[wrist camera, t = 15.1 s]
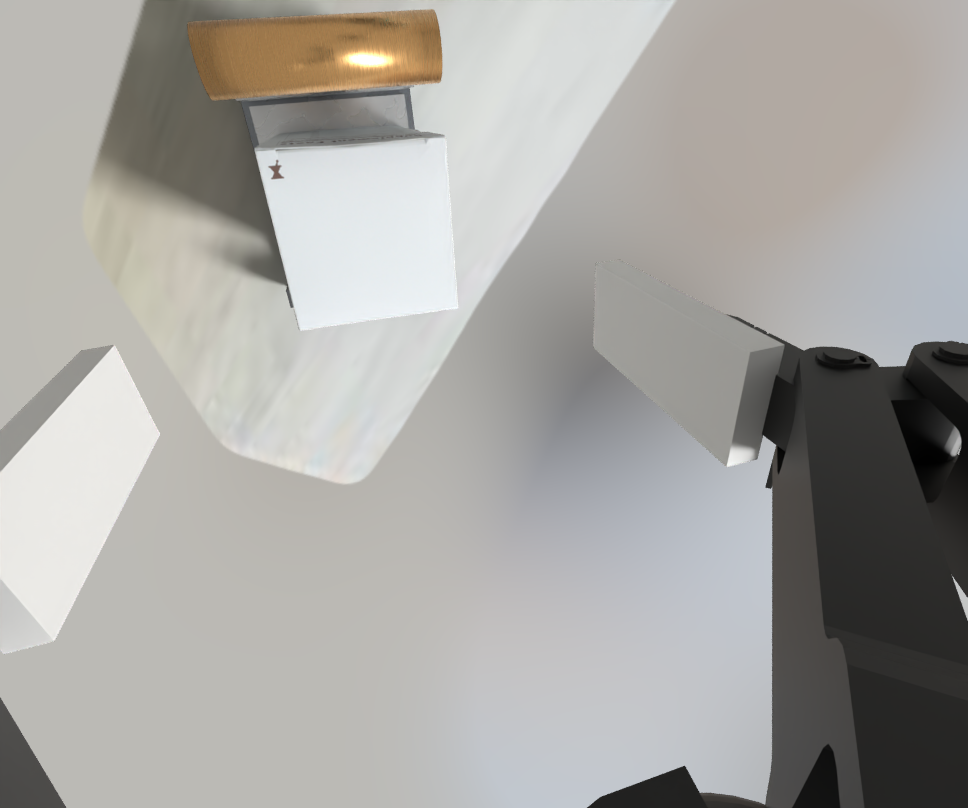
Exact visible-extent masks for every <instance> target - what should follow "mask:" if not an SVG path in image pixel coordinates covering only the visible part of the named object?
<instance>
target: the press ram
mask: <svg viewBox="0 0 968 808" xmlns="http://www.w3.org/2000/svg"><path fill="white" fill-rule="evenodd" d="M187 28H188V36H189V41H190V45H191V49H192V53H193V56H194V60H195V63H196V66H197V69H198V72H199V75H200V77H201V80H202V83H203V85H204V87H205V90H206V92H207V94H208V95H209V97H210V98H211V100H213V101H214V100H227V99H236V101H246V102H248V101H261V100H274V99H286V98H299V97H312V96H324V95H337V94H349V93H362V92H375V91H387V90H400V89H407V88H411V87H414V85H420V84H433V83H440V81H441V77H442V47H441V37H440V30H439V25H438V20H437V16H436V13H435V11H434V10H433V9H429V10H410V11H390V12H370V13H350V14H330V15H311V16H291V17H271V18H251V19H231V20H212V21H192V22H188V24H187Z"/></svg>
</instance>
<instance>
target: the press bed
mask: <svg viewBox="0 0 968 808" xmlns="http://www.w3.org/2000/svg"><path fill="white" fill-rule="evenodd" d="M241 104H242V108H243V112H244V115H245V119H246V123H247V126H248V130H249V134H250V137H251V141H252V145H253V148H255V147H257V146H258V145H260V144H262V143H264V142H266V141H268V140H270V139H271V138H273V137H275V136H276V135H278V134H281V133H290V132H301V131H314V130H327V129H343V128H359V127H376V126H401V127H404V128H409V129H414V130H415V128H414V120H413V112H412V104H411V96H410V89H409V88H407V89H400V90H387V91H375V92H362V93H349V94H337V95H324V96H312V97H299V98H286V99H274V100H261V101H248V102H246V101H241ZM254 152H255V150H254ZM255 155H256V154H255ZM256 159H257V158H256ZM286 292H287V296H288V299H289V303H290V306H291V308H293V303H292V299H291V295H290V291H289V287H288V284H287V289H286Z"/></svg>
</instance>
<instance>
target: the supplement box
mask: <svg viewBox="0 0 968 808" xmlns="http://www.w3.org/2000/svg"><path fill="white" fill-rule="evenodd" d="M254 150H255V154H256V158H257V163H258V167H259V171H260V175H261V178H262V182H263V186H264V190H265V194H266V198H267V202H268V207H269V211H270V215H271V219H272V223H273V227H274V231H275V235H276V239H277V243H278V247H279V251H280V255H281V259H282V263H283V267H284V271H285V275H286V279H287V283H288V287H289V291H290V295H291V299H292V303H293V307H294V312H295V316H296V320H297V324H298V328H299V330H300V331H304V330H310V329H317V328H324V327H331V326H338V325H345V324H351V323H358V322H365V321H372V320H378V319H385V318H393V317H400V316H407V315H414V314H421V313H429V312H436V311H443V310H450V309H458V298H457V285H456V272H455V260H454V247H453V233H452V219H451V205H450V190H449V174H448V159H447V144H446V136H445V135H441V134H435V133H430V132H420V131H418V130H414V129H409V128H404V127H401V126H376V127H359V128H343V129H327V130H314V131H301V132H290V133H281V134H278V135H276V136H275V137H273V138H271V139H270V140H268V141H266V142H264V143H262V144H260V145H258V146H257V147H255V148H254Z"/></svg>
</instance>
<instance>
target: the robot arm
mask: <svg viewBox="0 0 968 808" xmlns="http://www.w3.org/2000/svg"><path fill="white" fill-rule="evenodd" d="M595 266H596V268H595V301H594V338H593V348H594V349H596V350H597V351H598V352H599V353H600V354H601V355H602V356H604V358H606V359H607V360H608V361H609V362H610V363H611V364H612V365H613V366H615V367H616V368H617V369H618V370H619V371H620V372H621V373H622V374H623V375H625V376H626V377H627V378H628V379H629V380H630V381H631V382H632V383H633V384H635V385H636V386H637V387H638V388H639V389H640V390H641V391H642V392H644V393H645V394H646V395H647V396H648V397H649V398H650V399H652V401H654V402H655V403H656V404H657V405H658V406H659V407H660V408H661V409H662V410H664V411H665V412H666V413H667V414H668V415H669V416H670V417H671V418H673V419H674V420H675V421H676V422H677V423H678V424H679V425H680V426H682V427H683V428H684V429H685V430H686V431H687V432H688V433H689V434H690V435H691V436H693V437H694V438H695V439H696V440H697V441H698V442H699V443H700V444H701V445H703V446H704V447H705V448H706V449H707V450H708V451H709V452H710V453H712V454H713V455H714V456H715V457H716V458H717V459H718V460H719V461H720V462H722V463H723V464H724V465H725V466H726V467H729V466H733V465H736V464H741V463H744V462H748V461H752V460H756V459H757V458H758V454H759V450H760V446H761V442H762V438H763V435H764V436H765V437H766V438H768V439H769V440H770V441H772V442H773V443H774V444H776V449H775V452H774V456H773V460H772V464H771V468H770V472H769V476H768V479H767V483H766V488H770V489H771V488H772V491H773V492H772V493H773V496H772V500H773V501H772V507H773V509H772V513H773V514H772V517H773V518H772V521H773V522H772V524H773V525H772V531H773V532H772V534H773V535H772V536H773V537H772V538H773V539H772V546H773V547H772V550H773V551H772V552H773V553H772V570H773V571H772V578H773V579H772V609H773V610H772V765H771V773H770V779H769V785H768V790H767V796H766V804H765V805H764V804H762V803H759V802H756V801H752V800H748V799H744V798H740V797H736V796H731V795H723V794H714V793H699V791H698V789H697V787H696V785H695V783H694V782H693V780H692V778H691V776H690V774H689V772H688V771H687V769H686V767H685V766H683V767H680V768H677V769H675V770H672V771H669V772H667V773H664V774H661V775H659V776H656V777H653V778H651V779H648V780H645V781H642V782H640V783H637V784H635V785H632V786H629V787H626V788H624V789H621V790H619V791H615V792H613V793H610V794H607V795H605V796H602V797H600V798H599V799H597V800H596V801H595V802H594V803H592V804H591V805H590V806H589V807H587V808H968V621H967V618H966V615H965V612H964V609H963V607H962V603H961V601H960V598H959V595H958V592H957V589H956V586H955V583H954V581H953V578H952V576H953V577H954V579H955V580H956V582H957V583H958V584H959V586H960V587H961V589H962V590H963V592H964V593H965V595H966V596H967V597H968V344H965V343H959V342H954V341H948V342H924V343H921V344H918V345H915V346H914V348H913V349H912V351H911V353H910V356H909V359H908V361H907V364H906V366H899V367H898V366H897V367H879V366H878V364H877V363H876V362H875V361H874V359H872V358H870V357H868V356H867V355H865V354H862V353H860V352H856V351H853V350H850V349H844V348H838V347H816V348H809V349H807V350H805V351H803V350H801V349H799V348H797V347H796V346H793V345H791V344H790V343H788V342H786V341H784V340H782V339H780V338H778V337H776V336H774V335H772V334H767V332H766V331H764V330H762V329H760V328H758V327H755V328H754V325H752V324H750V323H748V322H746V321H744V320H742V319H740V318H738V317H734V316H731V315H727V314H724V313H722V312H720V311H718V310H716V309H714V308H712V307H710V306H708V305H707V304H705V303H703V302H701V301H699V300H697V299H695V298H693V297H691V296H689V295H687V294H685V293H683V292H682V291H679V290H678V289H676V288H674V287H672V286H670V285H668V284H666V283H664V282H662V281H660V280H658V279H656V278H654V277H652V276H651V275H648V274H647V273H645V272H643V271H641V270H639V269H637V268H635V267H633V266H631V265H629V264H627V263H625V262H623V261H621V260H612V261H606V262H601V263H596V265H595ZM159 435H160V433H159V431H158V429H157V428H156V425H155V423H154V422H153V420H152V418H151V416H150V414H149V412H148V410H147V408H146V406H145V404H144V402H143V400H142V398H141V396H140V394H139V392H138V390H137V388H136V386H135V384H134V382H133V380H132V378H131V376H130V374H129V372H128V370H127V368H126V366H125V364H124V362H123V361H122V358H121V356H120V354H119V353H118V350H117V349H116V347H115V345H111V346H105V347H100V348H93V349H88V350H82V351H80V352H79V353H78V354H77V355H76V356H75V357H74V358H73V359H72V360H71V361H70V362H69V363H68V364H67V365H66V366H65V367H64V368H63V369H62V370H61V371H60V372H59V373H58V374H57V375H56V376H55V377H54V378H53V379H52V380H51V381H50V382H49V383H48V384H47V385H46V386H45V387H44V388H43V389H42V390H41V391H40V392H39V393H38V394H37V395H36V396H35V397H34V398H32V400H30V401H29V403H27V404H26V405H25V406H24V407H23V408H22V409H21V410H20V411H19V412H18V413H17V414H16V415H15V416H14V417H13V418H12V419H11V420H10V421H9V422H8V423H7V424H6V425H5V426H4V427H3V428H2V429H1V430H0V651H1V652H2V653H3V654H7V653H11V652H14V651H18V650H22V649H26V648H30V647H34V646H38V645H42V644H45V643H49V642H53V641H55V639H56V637H57V635H58V633H59V631H60V629H61V627H62V625H63V623H64V621H65V619H66V617H67V615H68V613H69V611H70V609H71V607H72V605H73V603H74V602H75V599H76V598H77V596H78V594H79V592H80V590H81V587H82V586H83V584H84V582H85V580H86V578H87V576H88V574H89V572H90V570H91V568H92V566H93V564H94V562H95V561H96V559H97V556H98V554H99V553H100V551H101V549H102V547H103V545H104V543H105V541H106V539H107V537H108V535H109V533H110V531H111V529H112V527H113V525H114V523H115V522H116V520H117V518H118V515H119V513H120V511H121V510H122V508H123V506H124V504H125V502H126V500H127V498H128V496H129V494H130V492H131V490H132V488H133V486H134V484H135V482H136V480H137V478H138V477H139V475H140V473H141V471H142V469H143V467H144V465H145V463H146V461H147V459H148V457H149V455H150V453H151V451H152V449H153V447H154V445H155V443H156V441H157V439H158V438H159ZM960 447H961V450H960V453H959V455H958V454H957V453H958V451H959V449H960ZM951 574H952V575H951ZM0 808H66V806H65V805H64V803H63V801H62V800H61V798H60V797H59V795H58V793H57V792H56V790H55V788H54V786H53V785H52V783H51V781H50V780H49V778H48V776H47V775H46V773H45V771H44V770H43V768H42V766H41V765H40V763H39V761H38V760H37V758H36V756H35V755H34V753H33V751H32V750H31V748H30V746H29V745H28V743H27V741H26V740H25V738H24V736H23V735H22V733H21V731H20V730H19V728H18V726H17V725H16V723H15V721H14V720H13V718H12V716H11V715H10V713H9V711H8V710H7V708H6V706H5V705H4V703H3V701H2V700H1V698H0Z"/></svg>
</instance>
